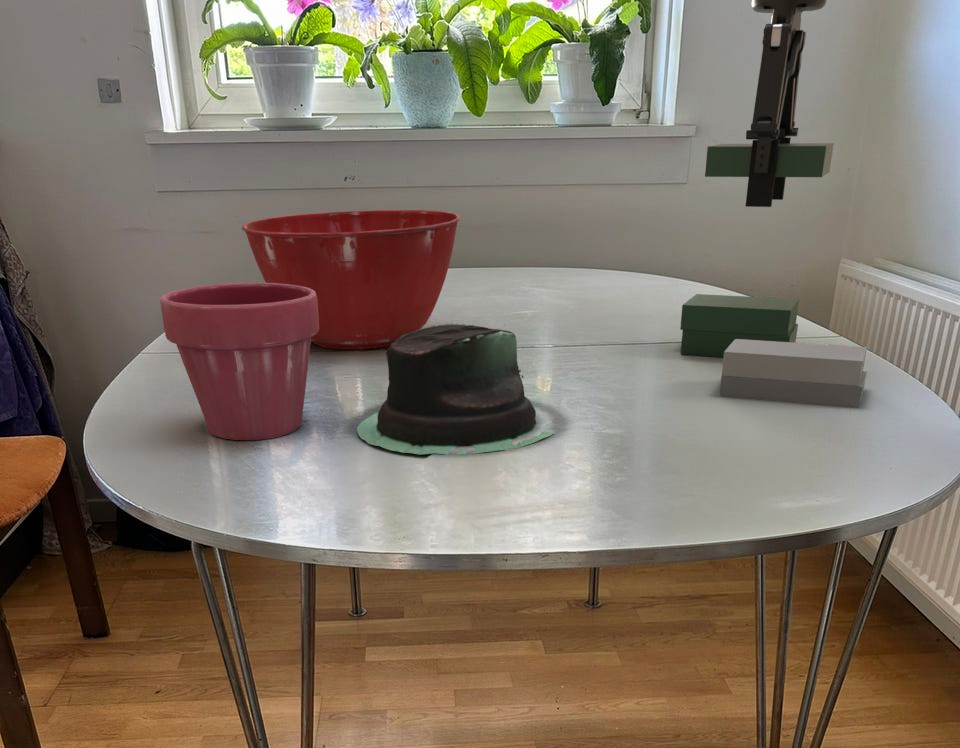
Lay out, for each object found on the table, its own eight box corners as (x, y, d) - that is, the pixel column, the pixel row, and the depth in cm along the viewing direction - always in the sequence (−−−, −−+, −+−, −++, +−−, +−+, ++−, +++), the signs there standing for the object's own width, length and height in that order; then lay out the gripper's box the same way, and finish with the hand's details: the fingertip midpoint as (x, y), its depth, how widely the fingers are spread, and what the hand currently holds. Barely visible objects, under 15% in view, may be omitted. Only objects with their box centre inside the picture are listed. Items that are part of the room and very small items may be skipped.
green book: (829, 172, 109) (833, 143, 107) (821, 177, 101) (826, 145, 100) (719, 172, 113) (722, 143, 112) (704, 176, 105) (707, 146, 104)
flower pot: (337, 407, 100) (325, 279, 94) (317, 447, 88) (302, 304, 82) (203, 409, 100) (182, 282, 94) (164, 450, 88) (138, 307, 82)
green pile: (794, 347, 122) (801, 299, 119) (786, 361, 115) (793, 310, 112) (691, 341, 127) (696, 294, 124) (678, 354, 120) (682, 304, 117)
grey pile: (862, 394, 101) (871, 347, 99) (858, 411, 96) (867, 361, 93) (730, 384, 106) (735, 338, 104) (718, 399, 100) (723, 351, 98)
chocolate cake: (432, 381, 105) (597, 407, 97) (350, 504, 98) (522, 544, 89) (390, 264, 93) (575, 282, 85) (293, 393, 86) (486, 427, 77)
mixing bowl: (255, 369, 116) (238, 233, 109) (257, 325, 141) (243, 212, 133) (480, 355, 121) (478, 224, 113) (444, 315, 145) (440, 205, 138)
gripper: (770, -21, 108) (746, 195, 119) (738, -47, 90) (714, 210, 101) (839, -26, 105) (808, 196, 116) (821, -53, 87) (787, 211, 98)
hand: (764, 202), depth 109 cm, fingers closed on green book, 9 cm apart
